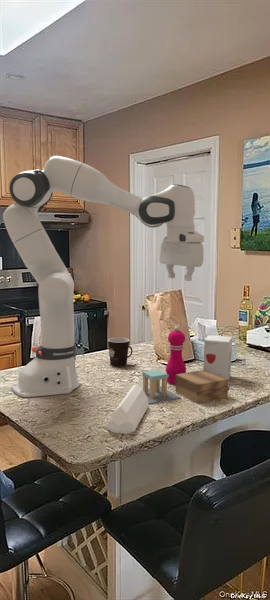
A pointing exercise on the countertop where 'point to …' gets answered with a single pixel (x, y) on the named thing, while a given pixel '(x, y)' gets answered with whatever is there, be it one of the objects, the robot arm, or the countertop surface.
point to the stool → (155, 382)
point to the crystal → (129, 411)
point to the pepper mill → (175, 355)
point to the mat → (161, 397)
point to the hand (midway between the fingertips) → (179, 279)
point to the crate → (201, 386)
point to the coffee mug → (118, 351)
